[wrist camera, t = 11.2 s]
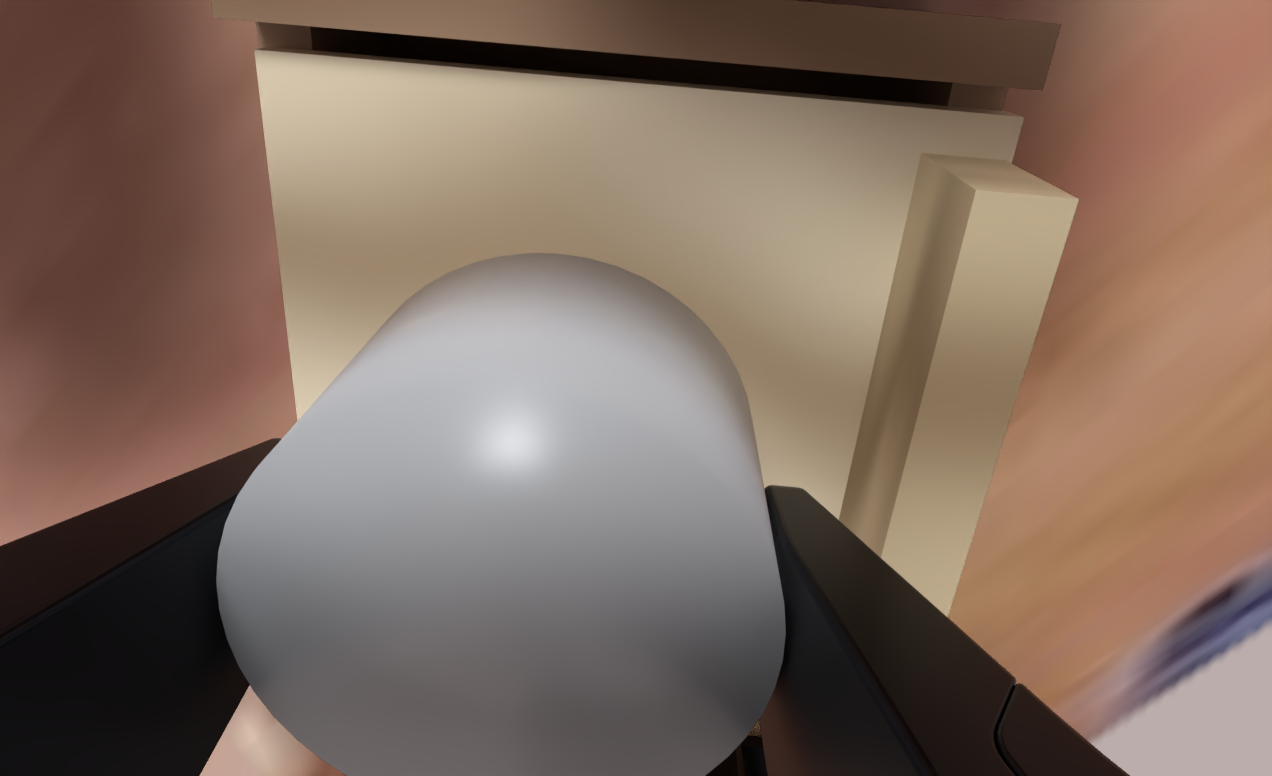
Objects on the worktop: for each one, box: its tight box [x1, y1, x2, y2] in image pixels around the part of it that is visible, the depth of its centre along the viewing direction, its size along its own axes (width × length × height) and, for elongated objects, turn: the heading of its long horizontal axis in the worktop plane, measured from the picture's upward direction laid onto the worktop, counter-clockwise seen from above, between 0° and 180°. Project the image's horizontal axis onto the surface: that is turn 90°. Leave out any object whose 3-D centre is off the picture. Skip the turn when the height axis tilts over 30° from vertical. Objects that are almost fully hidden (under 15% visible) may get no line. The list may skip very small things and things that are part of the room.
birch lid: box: [254, 47, 1079, 617], centre depth 12 cm, size 8×11×3 cm
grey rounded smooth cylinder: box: [216, 253, 786, 776], centre depth 8 cm, size 5×5×3 cm
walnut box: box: [211, 0, 1061, 111], centre depth 16 cm, size 10×11×6 cm
